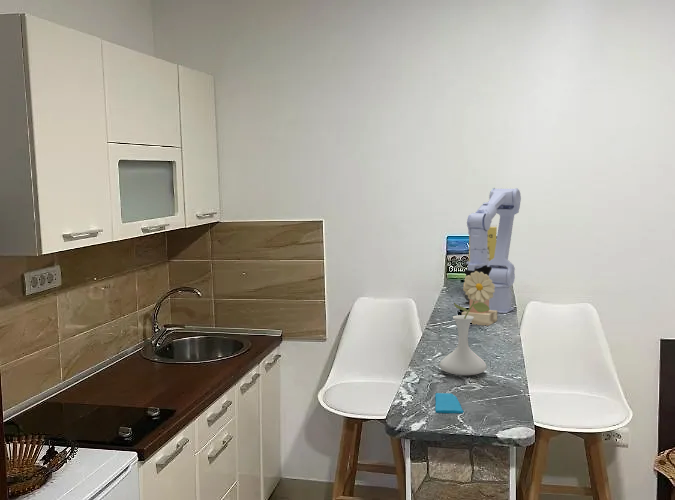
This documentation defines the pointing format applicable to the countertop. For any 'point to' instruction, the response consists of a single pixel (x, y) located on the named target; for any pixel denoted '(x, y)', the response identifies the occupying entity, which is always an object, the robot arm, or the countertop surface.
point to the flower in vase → (463, 356)
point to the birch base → (483, 317)
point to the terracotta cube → (475, 309)
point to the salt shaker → (467, 299)
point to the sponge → (447, 403)
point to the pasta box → (489, 242)
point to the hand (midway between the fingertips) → (478, 289)
